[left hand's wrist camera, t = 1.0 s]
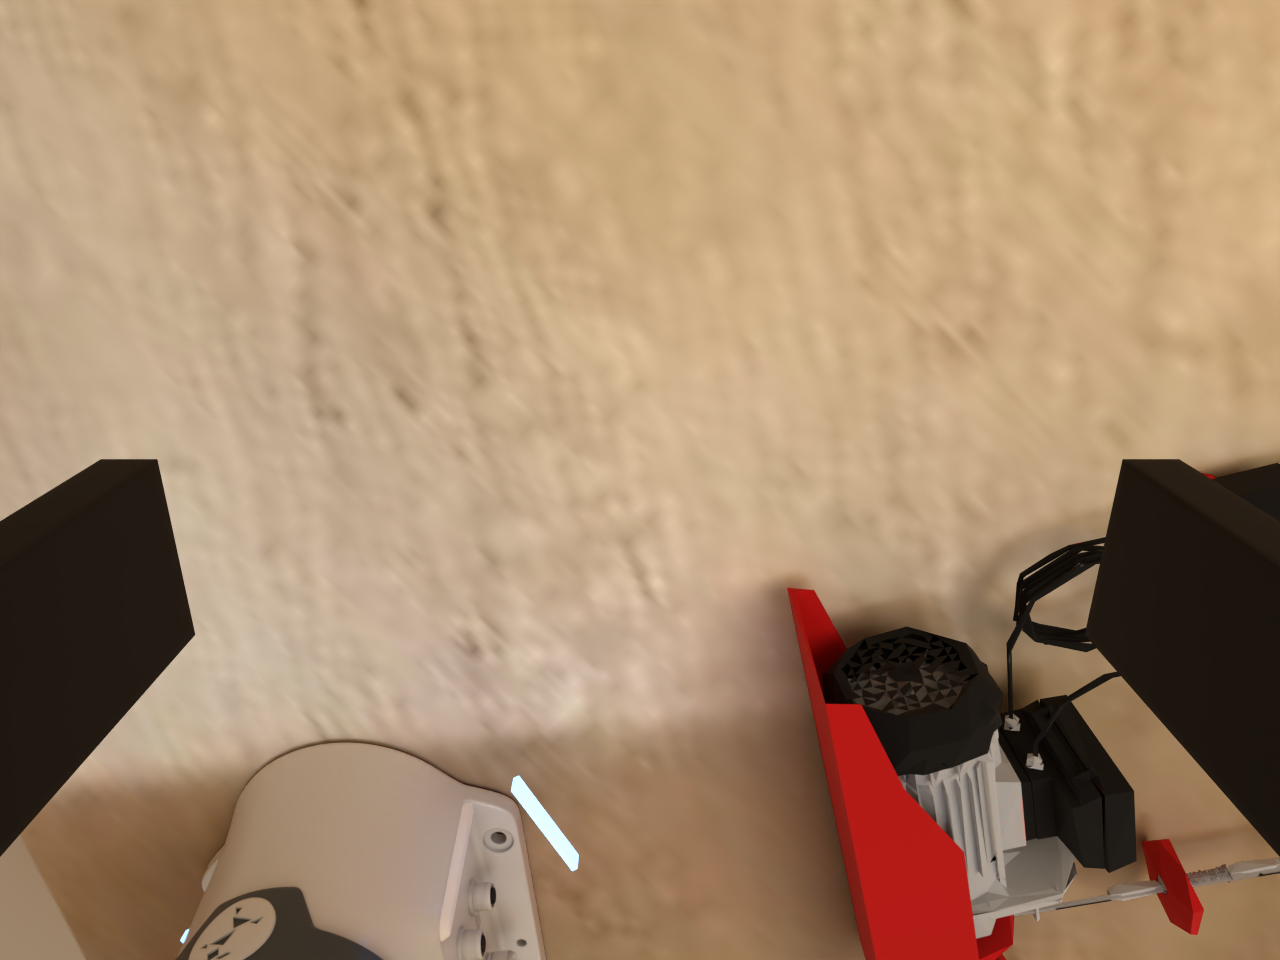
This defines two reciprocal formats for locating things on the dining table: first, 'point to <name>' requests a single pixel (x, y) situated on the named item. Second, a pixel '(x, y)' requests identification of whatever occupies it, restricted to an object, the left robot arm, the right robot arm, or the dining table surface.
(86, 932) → the dining table surface
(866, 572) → the dining table surface
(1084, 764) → the electric hoist
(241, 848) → the right robot arm
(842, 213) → the dining table surface
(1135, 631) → the left robot arm
